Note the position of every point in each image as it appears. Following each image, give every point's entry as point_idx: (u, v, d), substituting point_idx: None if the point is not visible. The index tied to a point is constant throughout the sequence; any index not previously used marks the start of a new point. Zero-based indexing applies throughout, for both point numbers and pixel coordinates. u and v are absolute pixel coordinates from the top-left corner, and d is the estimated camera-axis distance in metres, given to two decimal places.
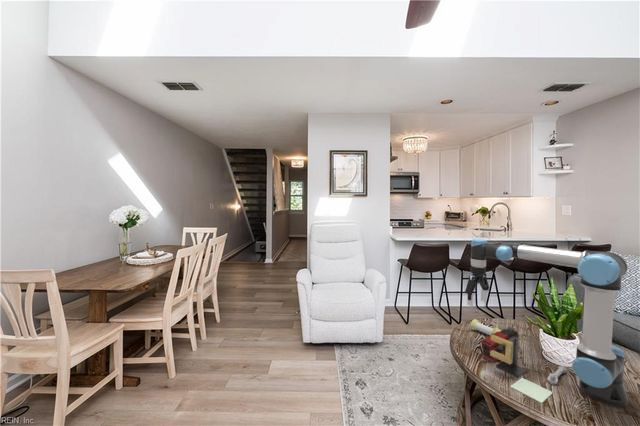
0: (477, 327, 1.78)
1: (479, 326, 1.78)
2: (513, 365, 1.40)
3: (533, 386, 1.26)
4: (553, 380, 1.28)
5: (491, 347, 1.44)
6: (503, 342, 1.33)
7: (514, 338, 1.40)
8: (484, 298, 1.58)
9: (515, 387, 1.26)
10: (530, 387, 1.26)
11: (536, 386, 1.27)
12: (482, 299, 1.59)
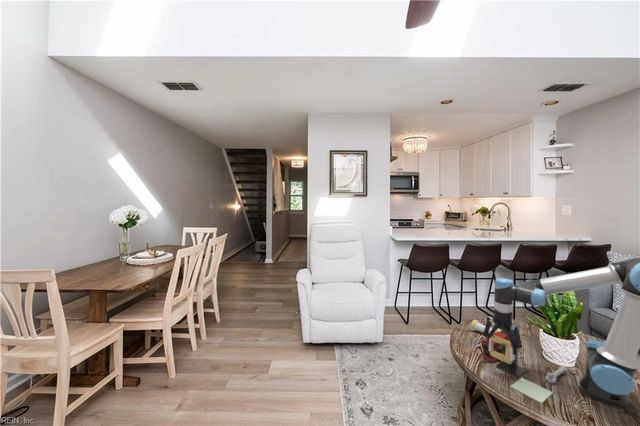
0: (477, 327, 1.78)
1: (480, 326, 1.77)
2: (513, 365, 1.40)
3: (533, 386, 1.26)
4: (551, 379, 1.29)
5: None
6: (503, 342, 1.33)
7: (514, 338, 1.40)
8: None
9: (515, 387, 1.26)
10: (530, 387, 1.26)
11: (536, 386, 1.27)
12: None
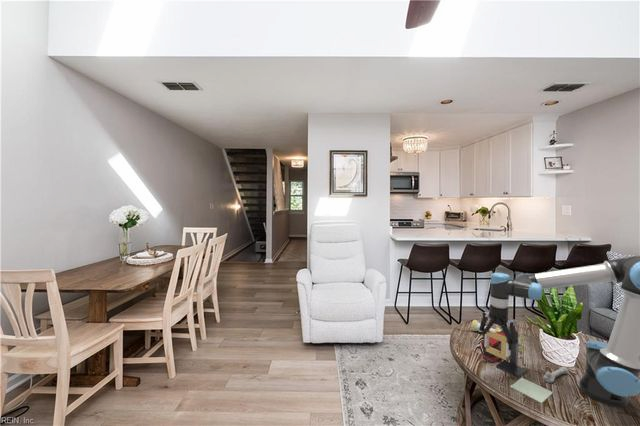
0: (478, 328, 1.77)
1: None
2: (513, 365, 1.40)
3: (533, 386, 1.26)
4: (549, 378, 1.30)
5: None
6: (499, 338, 1.31)
7: None
8: None
9: (515, 387, 1.26)
10: (530, 387, 1.26)
11: (536, 386, 1.27)
12: None
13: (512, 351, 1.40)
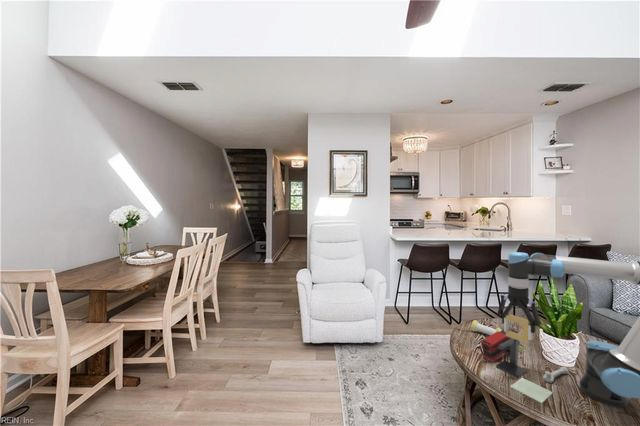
0: (478, 328, 1.77)
1: (480, 327, 1.76)
2: (513, 365, 1.40)
3: (533, 386, 1.26)
4: (548, 378, 1.30)
5: (491, 347, 1.44)
6: (520, 320, 1.24)
7: None
8: None
9: (515, 387, 1.26)
10: (530, 387, 1.26)
11: (536, 386, 1.27)
12: None
13: (512, 351, 1.40)
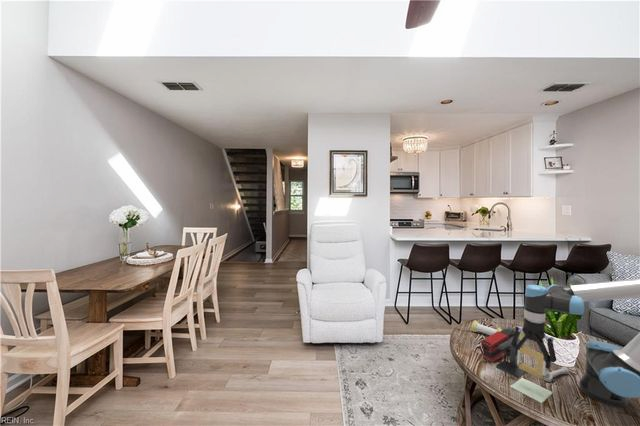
0: (479, 328, 1.76)
1: (481, 327, 1.76)
2: (513, 365, 1.40)
3: (533, 386, 1.26)
4: (547, 377, 1.31)
5: (491, 347, 1.44)
6: (534, 354, 1.22)
7: None
8: None
9: (515, 387, 1.26)
10: (530, 387, 1.26)
11: (536, 386, 1.27)
12: None
13: (512, 351, 1.40)
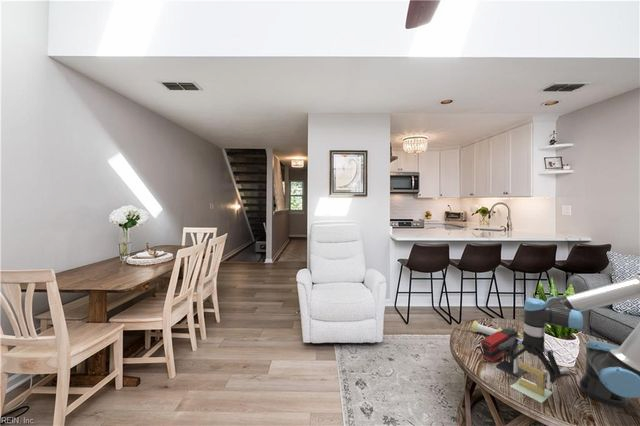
0: (479, 329, 1.76)
1: (481, 328, 1.75)
2: (513, 365, 1.40)
3: None
4: (546, 376, 1.31)
5: (491, 347, 1.44)
6: (534, 371, 1.22)
7: (514, 338, 1.40)
8: None
9: (515, 387, 1.26)
10: None
11: None
12: None
13: None
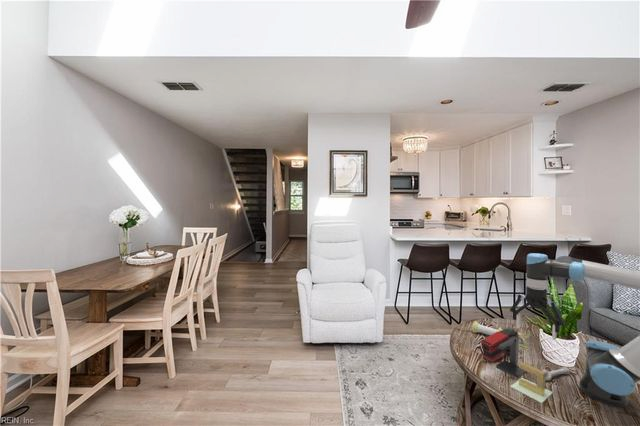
0: (479, 329, 1.75)
1: (482, 328, 1.75)
2: (513, 365, 1.40)
3: None
4: (545, 376, 1.31)
5: (491, 347, 1.44)
6: (534, 371, 1.22)
7: (514, 338, 1.40)
8: None
9: (515, 387, 1.26)
10: None
11: None
12: None
13: (512, 351, 1.40)
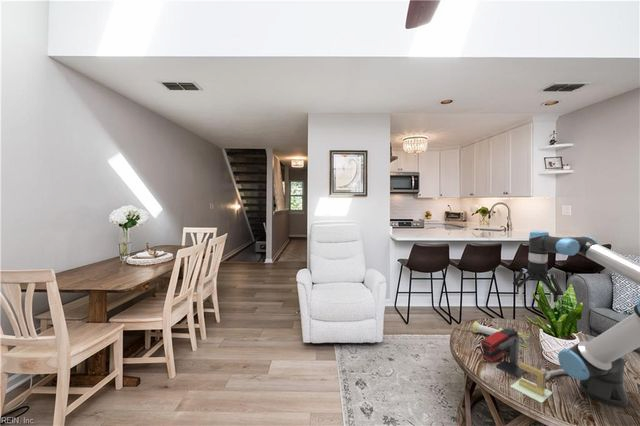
0: (480, 329, 1.75)
1: (482, 328, 1.75)
2: (513, 365, 1.40)
3: None
4: None
5: (491, 347, 1.44)
6: (534, 371, 1.22)
7: (514, 338, 1.40)
8: None
9: (515, 387, 1.26)
10: None
11: None
12: None
13: (512, 351, 1.40)
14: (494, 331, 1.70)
